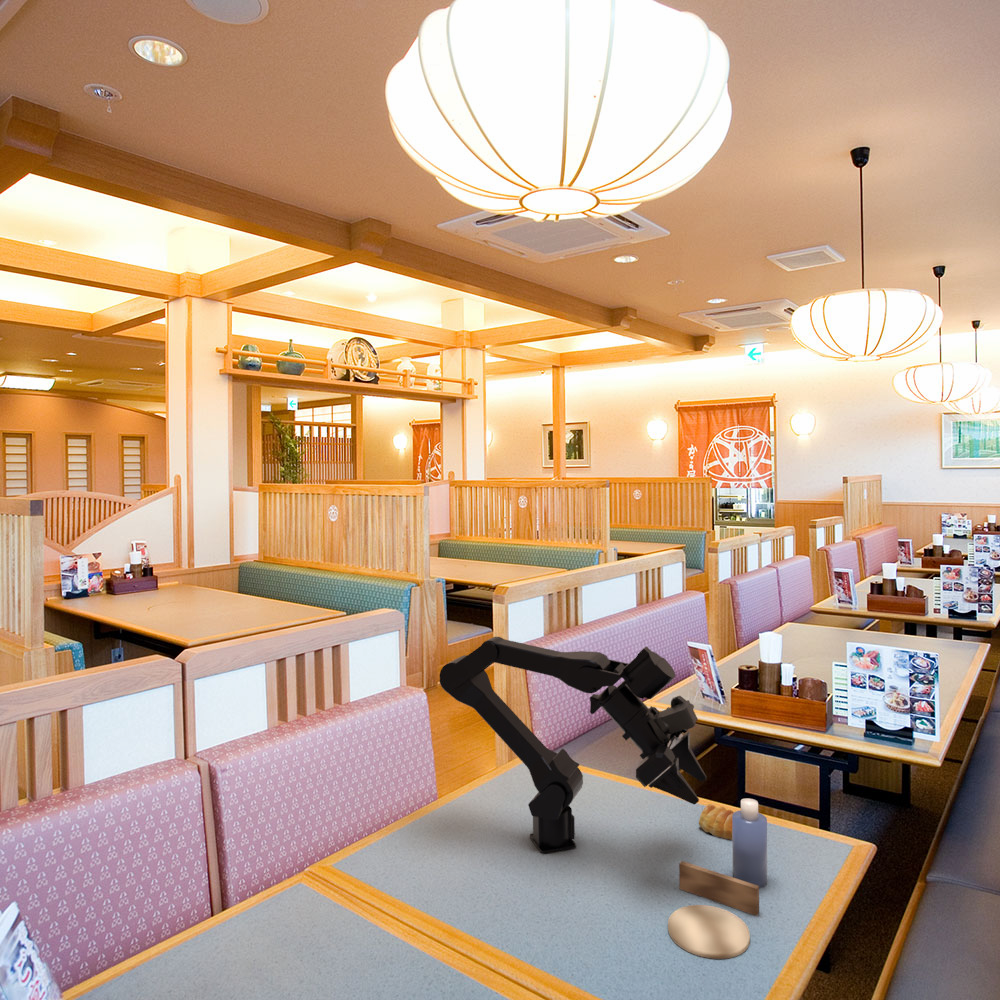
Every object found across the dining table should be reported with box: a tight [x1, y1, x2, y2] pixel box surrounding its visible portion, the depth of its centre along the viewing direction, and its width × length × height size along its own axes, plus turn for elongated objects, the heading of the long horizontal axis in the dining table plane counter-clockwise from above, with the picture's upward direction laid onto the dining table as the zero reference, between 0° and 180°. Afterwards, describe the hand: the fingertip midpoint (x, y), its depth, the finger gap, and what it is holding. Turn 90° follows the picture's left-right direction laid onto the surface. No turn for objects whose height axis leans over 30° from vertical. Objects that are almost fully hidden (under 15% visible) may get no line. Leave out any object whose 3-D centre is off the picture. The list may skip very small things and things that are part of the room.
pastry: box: [698, 804, 735, 841], centre depth 132 cm, size 9×7×4 cm
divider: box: [678, 860, 760, 917], centre depth 111 cm, size 12×1×4 cm, turn 52°
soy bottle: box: [731, 798, 768, 889], centre depth 116 cm, size 5×5×12 cm
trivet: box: [667, 904, 751, 960], centre depth 103 cm, size 11×11×1 cm
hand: (700, 790), depth 119 cm, fingers open, 9 cm apart
